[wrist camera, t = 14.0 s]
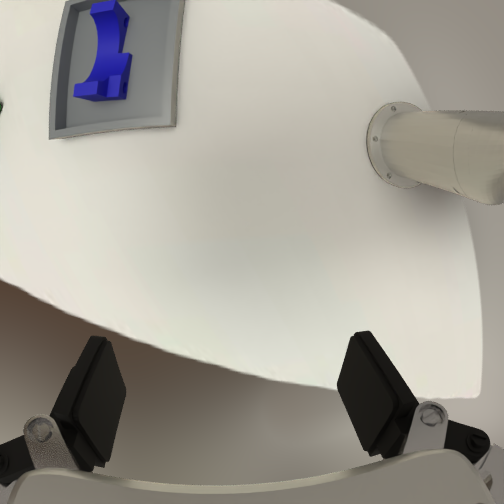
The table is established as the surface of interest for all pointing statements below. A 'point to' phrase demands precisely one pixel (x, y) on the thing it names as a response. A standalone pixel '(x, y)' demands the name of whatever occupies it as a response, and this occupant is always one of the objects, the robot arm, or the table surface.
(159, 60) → the gray tray
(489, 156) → the robot arm
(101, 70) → the blue long angular piece
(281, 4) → the table surface
